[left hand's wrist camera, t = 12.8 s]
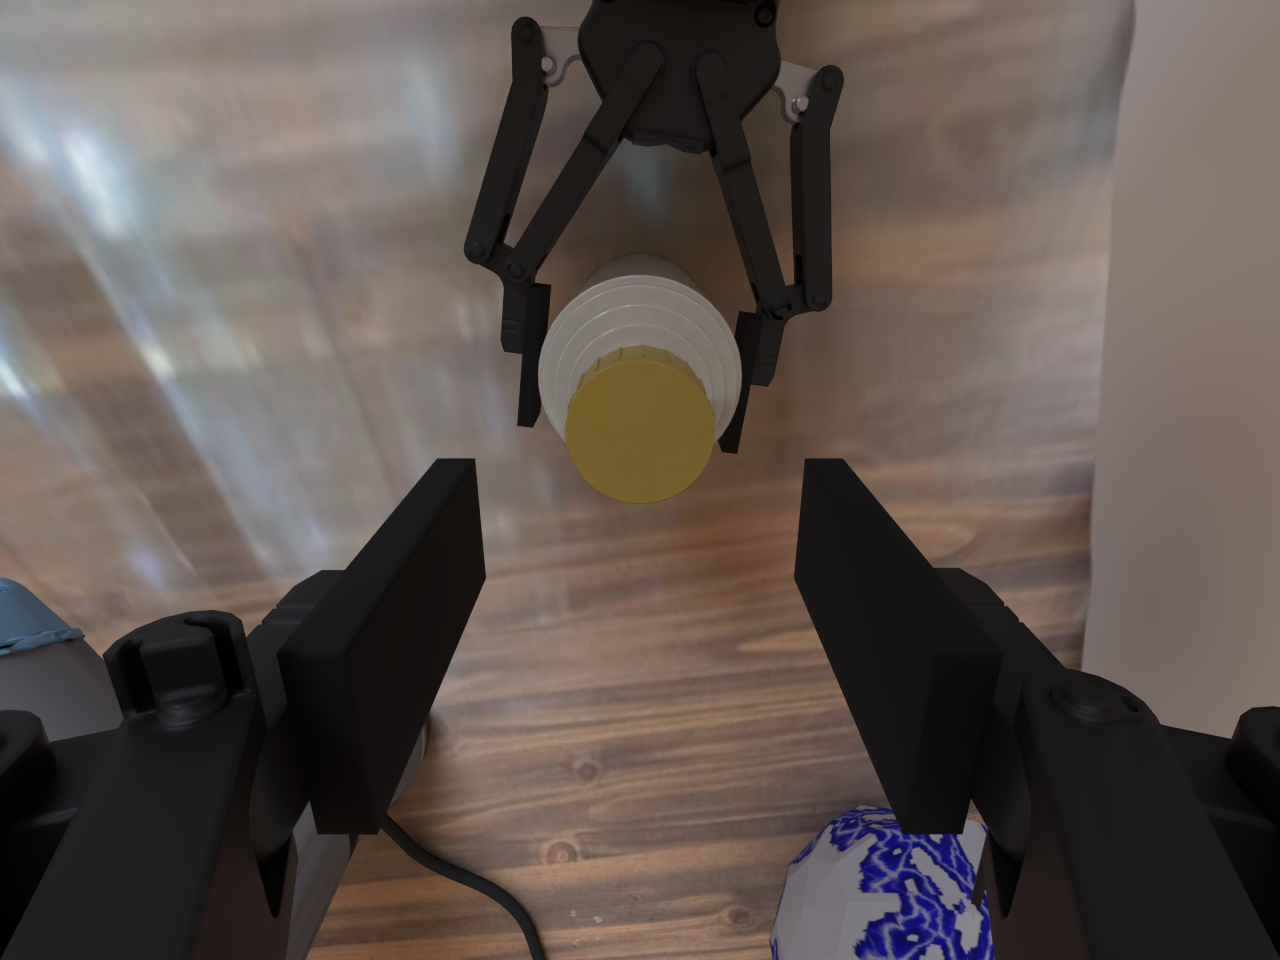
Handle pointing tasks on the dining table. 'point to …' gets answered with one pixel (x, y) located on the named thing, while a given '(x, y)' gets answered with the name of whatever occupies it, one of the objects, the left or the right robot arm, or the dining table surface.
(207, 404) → the dining table surface
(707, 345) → the bottle
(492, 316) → the dining table surface
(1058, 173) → the dining table surface
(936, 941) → the ornament
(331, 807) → the left robot arm
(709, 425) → the cap
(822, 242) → the right robot arm
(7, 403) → the dining table surface
